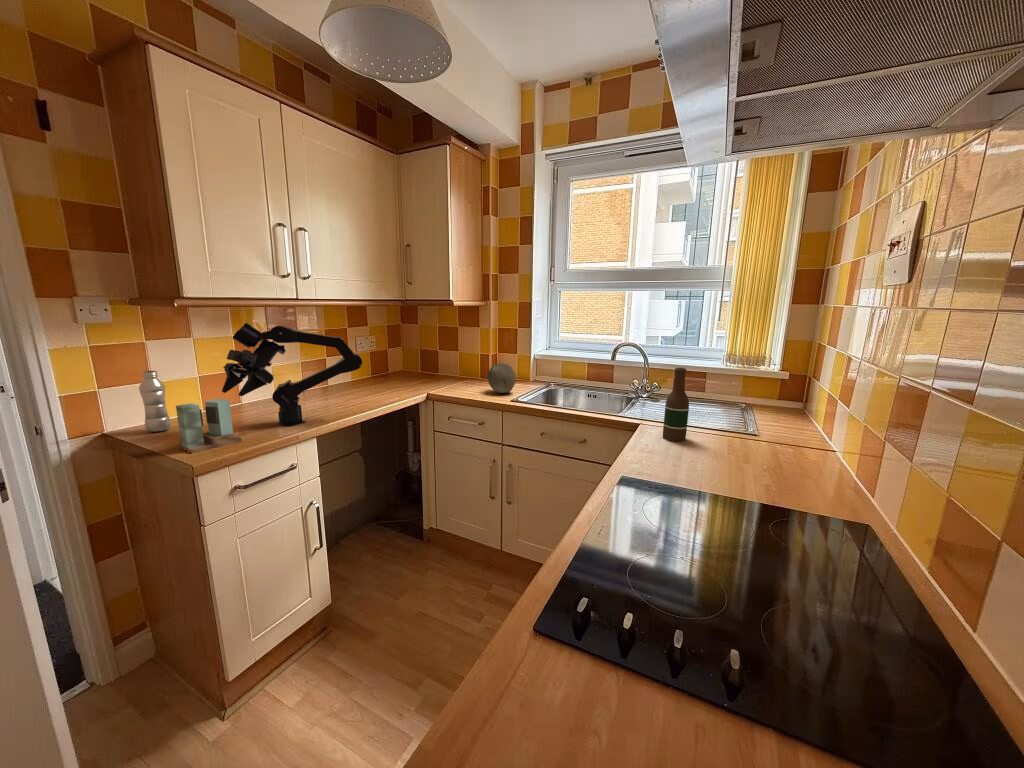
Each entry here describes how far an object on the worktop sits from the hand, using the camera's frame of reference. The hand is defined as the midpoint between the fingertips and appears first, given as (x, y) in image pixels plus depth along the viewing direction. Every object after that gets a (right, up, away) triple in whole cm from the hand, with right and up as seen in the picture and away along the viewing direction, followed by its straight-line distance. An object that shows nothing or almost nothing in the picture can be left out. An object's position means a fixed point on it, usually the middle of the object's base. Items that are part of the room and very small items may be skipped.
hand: (231, 393), depth 130 cm
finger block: (0, -14, -4) cm, 14 cm away
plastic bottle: (-28, -13, +5) cm, 31 cm away
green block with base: (-2, -15, -6) cm, 17 cm away
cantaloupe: (+84, -2, +71) cm, 111 cm away
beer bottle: (+144, -15, +7) cm, 145 cm away
